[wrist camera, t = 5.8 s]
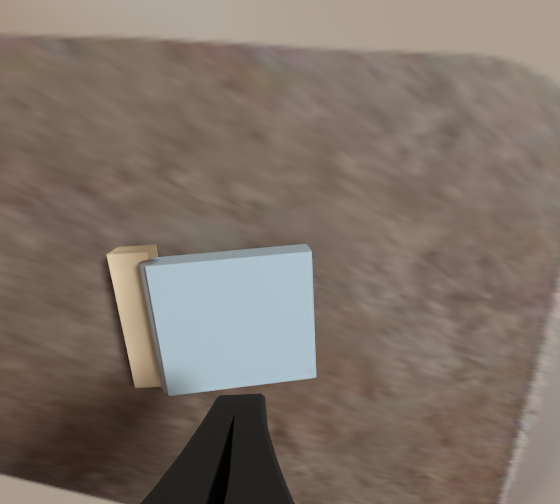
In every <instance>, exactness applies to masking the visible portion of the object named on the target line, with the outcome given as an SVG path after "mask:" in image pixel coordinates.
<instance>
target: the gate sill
mask: <svg viewBox="0 0 560 504" xmlns="http://www.w3.org/2000/svg"><path fill="white" fill-rule="evenodd" d="M156 257H158V253H157V247H156V245H141V246H123V247H117V248H116V249H114V250H113V251H111V252H110V253H108V254H107V259H108V263H109V268H110V273H111V278H112V282H113V287H114V292H115V296H116V301H117V306H118V310H119V315H120V320H121V324H122V329H123V334H124V338H125V343H126V348H127V352H128V357H129V362H130V366H131V371H132V376H133V380H134V385H135V388H144V387H162V386H161V381H160V375H159V370H158V365H157V359H156V354H155V349H154V343H153V338H152V333H151V327H150V322H149V317H148V311H147V306H146V301H145V295H144V290H143V285H142V279H141V274H140V269H139V262H141V261H144V260H148V259H151V258H156Z"/></svg>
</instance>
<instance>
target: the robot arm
mask: <svg viewBox="0 0 560 504" xmlns="http://www.w3.org/2000/svg"><path fill="white" fill-rule="evenodd" d="M141 504H295V503H294V501H293V499H292V497H291V494H290V492H289V490H288V487H287V485H286V482H285V480H284V477H283V475H282V472H281V469H280V467H279V464H278V461H277V458H276V455H275V452H274V448H273V445H272V442H271V438H270V435H269V431H268V426H267V415H266V403H265V397H264V396H263V395H262V394H244V395H223V396H219V397H218V398H217V399H216V400H215V402H214V404H213V405H212V407H211V409H210V410H209V412H208V414H207V415H206V417H205V418H204V420H203V422H202V423H201V425H200V426H199V428H198V429H197V431H196V432H195V434H194V435H193V436H192V438H191V439H190V441H189V442H188V444H187V445H186V447H185V448H184V449H183V451H182V452H181V454H180V455H179V456H178V458H177V459H176V460H175V462H174V463H173V464H172V465H171V467H170V468H169V469H168V471H167V472H166V473H165V474H164V476H163V477H162V478H161V480H160V481H159V482H158V483H157V485H156V486H155V487H154V488H153V490H152V491H151V492H150V493H149V494H148V495H147V497H146V498H145V499H144V500H143V501H142V502H141Z"/></svg>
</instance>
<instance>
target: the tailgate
mask: <svg viewBox="0 0 560 504" xmlns="http://www.w3.org/2000/svg"><path fill="white" fill-rule="evenodd" d="M139 269H140V274H141V279H142V285H143V290H144V295H145V301H146V306H147V311H148V317H149V322H150V327H151V333H152V338H153V343H154V349H155V354H156V359H157V365H158V370H159V375H160V381H161V386H162V391H163V392H164V393H168V395H169V396H172V395H180V394H188V393H196V392H204V391H212V390H220V389H228V388H236V387H245V386H253V385H261V384H269V383H277V382H285V381H293V380H301V379H309V378H316V356H315V329H314V302H313V274H312V251H311V250H310V248H309V247H308V245H307V244H300V245H288V246H277V247H266V248H255V249H244V250H233V251H222V252H211V253H200V254H189V255H178V256H167V257H156V258H151V259H148V260H144V261H141V262H139Z"/></svg>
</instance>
